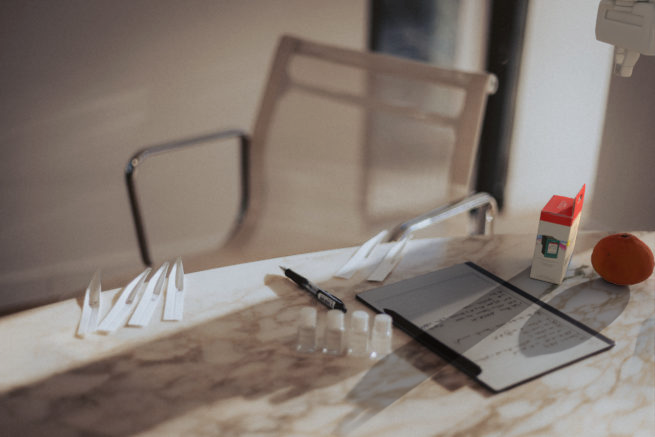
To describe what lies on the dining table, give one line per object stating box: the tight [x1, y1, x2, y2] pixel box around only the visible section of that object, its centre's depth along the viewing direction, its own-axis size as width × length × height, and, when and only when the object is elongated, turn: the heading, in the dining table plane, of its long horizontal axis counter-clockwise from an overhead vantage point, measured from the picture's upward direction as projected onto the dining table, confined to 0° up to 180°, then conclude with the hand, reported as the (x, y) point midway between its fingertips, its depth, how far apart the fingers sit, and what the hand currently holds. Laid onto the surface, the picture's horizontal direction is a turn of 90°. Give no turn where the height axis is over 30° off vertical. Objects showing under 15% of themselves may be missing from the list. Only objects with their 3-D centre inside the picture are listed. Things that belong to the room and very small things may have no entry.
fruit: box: [590, 232, 655, 286], centre depth 98 cm, size 9×9×8 cm
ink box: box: [529, 183, 587, 285], centre depth 99 cm, size 8×5×15 cm, turn 149°
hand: (621, 75), depth 106 cm, fingers closed
